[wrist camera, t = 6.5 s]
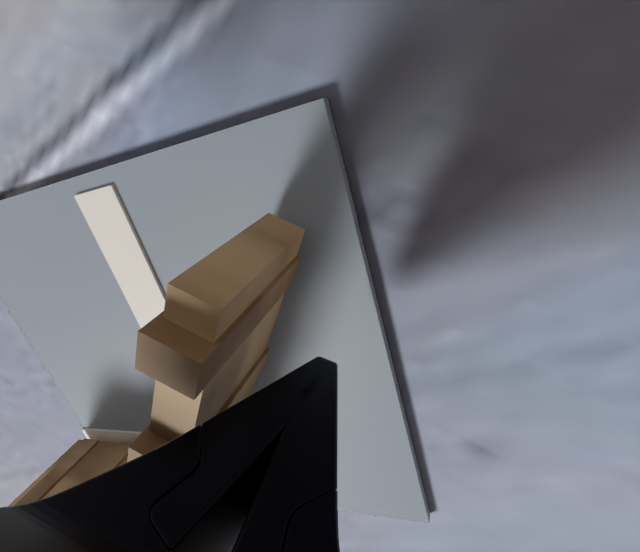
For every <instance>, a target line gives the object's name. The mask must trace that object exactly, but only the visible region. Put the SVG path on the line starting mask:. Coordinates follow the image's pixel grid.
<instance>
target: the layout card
mask: <svg viewBox="0 0 640 552" xmlns="http://www.w3.org/2000/svg"><path fill="white" fill-rule="evenodd" d="M267 213H270V214H272V215H275V216H277V217H279V218H281V219H283V220H286V221H288V222H290V223H292V224H294V225H297V226H299V227H301V228H303V229H305V232H304V235H303V238H302V241H301V244H300V247H299V250H298V254H297V256H300V260H299V263H298V266H297V269H296V272H295V275H294V278H293V281H292V284H291V286H290V287H289V288H288V289H287V291H286V292H285V293H284V296H283V299H282V302H281V306H280V309H279V312H278V315H277V318H276V321H275V324H274V327H273V330H272V333H271V336H270V339H269V342H268V345H267V348H268V349H270V350H269V353H268V356H267V359H266V362H265V365H264V368H263V371H262V372H261V373H260V375H259V376H258V378H257V379H256V382H255V385H254V388H253V391H252V394H254V393H255V392H257V391H259V390H261V389H262V388H264V387H266V386H267V385H269V384H271V383H273V382H274V381H276V380H278V379H280V378H281V377H283V376H285V375H286V374H288V373H290V372H292V371H293V370H295V369H297V368H299V367H300V366H302V365H304V364H305V363H307V362H309V361H311V360H312V359H314V358H316V357H319V356H320V357H323V358H326V359H328V360H331V361H333V362H336V363H337V365H338V441H337V492H338V510H340V511H347V512H354V513H361V514H368V515H375V516H382V517H390V518H397V519H404V520H411V521H418V522H425V523H429V521H430V512H429V508H428V504H427V500H426V496H425V492H424V488H423V484H422V480H421V476H420V472H419V468H418V464H417V459H416V455H415V451H414V447H413V443H412V439H411V435H410V431H409V427H408V423H407V419H406V415H405V411H404V407H403V402H402V398H401V394H400V390H399V386H398V382H397V378H396V374H395V370H394V366H393V362H392V358H391V354H390V350H389V345H388V341H387V337H386V333H385V329H384V325H383V321H382V317H381V313H380V309H379V305H378V301H377V297H376V293H375V289H374V284H373V280H372V276H371V272H370V268H369V264H368V260H367V256H366V252H365V248H364V244H363V240H362V236H361V232H360V227H359V223H358V219H357V215H356V211H355V207H354V203H353V199H352V195H351V191H350V187H349V183H348V179H347V175H346V170H345V166H344V162H343V158H342V154H341V150H340V146H339V142H338V138H337V134H336V130H335V126H334V122H333V118H332V113H331V109H330V105H329V101H328V97H325V98H321V99H318V100H315V101H312V102H309V103H306V104H302V105H299V106H296V107H293V108H290V109H287V110H283V111H280V112H277V113H274V114H271V115H268V116H265V117H261V118H258V119H255V120H252V121H249V122H246V123H243V124H239V125H236V126H233V127H230V128H227V129H224V130H220V131H217V132H214V133H211V134H208V135H205V136H202V137H198V138H195V139H192V140H189V141H186V142H183V143H179V144H176V145H173V146H170V147H167V148H164V149H161V150H157V151H154V152H151V153H148V154H145V155H142V156H139V157H135V158H132V159H129V160H126V161H123V162H120V163H116V164H113V165H110V166H107V167H104V168H101V169H98V170H94V171H91V172H88V173H85V174H82V175H79V176H76V177H72V178H69V179H66V180H63V181H60V182H57V183H53V184H50V185H47V186H44V187H41V188H38V189H35V190H31V191H28V192H25V193H22V194H19V195H16V196H13V197H9V198H6V199H3V200H0V298H1V300H2V301H3V303H4V305H5V306H6V308H7V309H8V311H9V312H10V314H11V315H12V317H13V319H14V320H15V322H16V323H17V325H18V326H19V328H20V330H21V331H22V333H23V334H24V336H25V337H26V339H27V341H28V342H29V344H30V345H31V347H32V348H33V350H34V352H35V353H36V355H37V356H38V358H39V359H40V361H41V363H42V364H43V366H44V367H45V369H46V370H47V372H48V374H49V375H50V377H51V378H52V380H53V381H54V383H55V385H56V386H57V388H58V389H59V391H60V392H61V394H62V396H63V397H64V399H65V400H66V402H67V403H68V405H69V407H70V408H71V410H72V411H73V413H74V414H75V416H76V418H77V419H78V421H79V422H80V424H81V425H82V427H83V429H81V430H82V431H83V433H84V435H85V436H86V438H87V439H96V440H99V441H100V442H112V443H120V442H131V443H133V442H134V441H135V439H136V438H137V437H138V436H139V435H140V434H141V433H142V432H143V431H144V430H145V428H146V427H147V426H148V425H149V424H150V420H151V412H152V404H153V396H154V388H155V379H153V378H152V377H150V376H148V375H146V374H144V373H142V372H140V371H138V370H137V369H135V359H136V347H137V334H138V330H140V329H141V328H142V327H144V326H145V325H146V324H147V323H149V322H150V321H151V320H153V319H154V318H155V317H156V316H158V315H159V314H160V313H162V312H163V311H164V307H165V299H166V291H167V283H169V282H170V281H171V280H173V279H174V278H176V277H177V276H179V275H180V274H181V273H183V272H184V271H186V270H187V269H189V268H190V267H191V266H193V265H194V264H196V263H197V262H199V261H200V260H201V259H203V258H204V257H206V256H207V255H209V254H210V253H212V252H213V251H214V250H216V249H217V248H219V247H220V246H222V245H223V244H224V243H226V242H227V241H229V240H230V239H232V238H233V237H234V236H236V235H237V234H239V233H240V232H242V231H243V230H244V229H246V228H247V227H249V226H250V225H252V224H253V223H255V222H256V221H257V220H259V219H260V218H262V217H263V216H265V215H266V214H267ZM252 394H251V395H252Z"/></svg>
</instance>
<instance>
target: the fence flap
mask: <svg viewBox="0 0 640 552" xmlns="http://www.w3.org/2000/svg"><path fill="white" fill-rule="evenodd" d="M304 232H305V229H303V228H301V227H299V226H297V225H294V224H292V223H290V222H288V221H286V220H283V219H281V218H279V217H277V216H275V215H272V214H270V213H267V214H266V215H265V216H263V217H262V218H260V219H259V220H257V221H256V222H255V223H253V224H252V225H250V226H249V227H247V228H246V229H244V230H243V231H242V232H240V233H239V234H237V235H236V236H234V237H233V238H232V239H230V240H229V241H227V242H226V243H224V244H223V245H222V246H220V247H219V248H217V249H216V250H214V251H213V252H212V253H210V254H209V255H207V256H206V257H204V258H203V259H201V260H200V261H199V262H197V263H196V264H194V265H193V266H191V267H190V268H189V269H187V270H186V271H184V272H183V273H181V274H180V275H179V276H177V277H176V278H174V279H173V280H171V281H170V282H169V283H167V291H166V299H165V307H164V311H163V312H162V313H160V314H159V315H158V316H156V317H155V318H154V319H153V320H151V321H150V322H149V323H147V324H146V325H145V326H144V327H142V328H141V329H140V330H138V334H137V347H136V359H135V369H137V370H138V371H140V372H142V373H144V374H146V375H148V376H150V377H152V378H153V379H155V388H154V396H153V404H152V412H151V420H150V424H149V425H148V426H147V427H146V428H145V430H144V431H143V432H142V433H141V434H140V435H139V436H138V437H137V438H136V439H135V441H134V442H133V443H132V444H131V445H130V446H129V447H128V459H127V462H129V461H131V460H133V459H135V458H137V457H140V456H142V455H144V454H146V453H148V452H150V451H152V450H154V449H156V448H158V447H160V446H162V445H164V444H166V443H168V442H170V441H171V440H173V439H175V438H177V437H179V436H181V435H182V434H184V433H186V432H188V431H189V430H191V429H193V428H195V427H196V426H198V425H201V426H202V423H204V422H205V421H207V420H209V419H210V418H212V417H214V416H216V415H217V414H219V413H221V412H223V411H224V410H226V409H228V408H229V407H231V406H233V405H235V404H236V403H238V402H240V401H242V400H243V399H245V398H247V397H248V396H250V395H251V394H252V391H253V388H254V385H255V382H256V379H257V378H258V376H259V375H260V373H261V372H262V371H263V368H264V365H265V362H266V359H267V356H268V353H269V350H270V349H268V348H267V345H268V342H269V339H270V336H271V333H272V330H273V327H274V324H275V321H276V318H277V315H278V312H279V309H280V306H281V302H282V299H283V296H284V293H285V292H286V291H287V289H288V288H289V287H290V286H291V284H292V281H293V278H294V275H295V272H296V269H297V266H298V263H299V260H300V256H297V254H298V250H299V247H300V244H301V241H302V238H303V235H304Z"/></svg>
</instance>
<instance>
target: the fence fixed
mask: <svg viewBox="0 0 640 552" xmlns="http://www.w3.org/2000/svg"><path fill="white" fill-rule="evenodd" d="M131 444H132V443H131V442H120V443H112V442H100V441H99V440H96V439H84V440H78V441H77V442H76V443H75V444H74V445H73V446H72V447H71V448H70V449H69V450H67V451H66V452H65V453H64V454H63V455H62V456H61V457H60V458H59V459H58V460H57V461H56V462H55V463H54V464H53V465H51V466H50V467H49V468H48V469H47V470H46V471H45V472H44V473H43V474H42V475H41V476H40V477H39V478H38V479H37V480H36V481H34V482H33V483H32V484H31V485H30V486H29V487H28V488H27V489H26V490H25V491H24V492H23V493H22V494H21V495H20V496H18V497H17V498H16V499H15V500H14V501H13V502H12V503H11V504H10V505H9V506H8V507H11V506H18V505H22V504H27V503H31V502H34V501H38V500H41V499H44V498H47V497H50V496H53V495H55V494H58V493H60V492H62V491H65V490H67V489H69V488H71V487H74V486H76V485H78V484H80V483H82V482H85V481H87V480H89V479H91V478H94V477H96V476H98V475H100V474H102V473H105V472H107V471H109V470H111V469H113V468H116V467H118V466H120V465H122V464H124V463H127V459H128V447H129V446H130V445H131Z"/></svg>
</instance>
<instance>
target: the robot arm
mask: <svg viewBox="0 0 640 552" xmlns="http://www.w3.org/2000/svg"><path fill="white" fill-rule="evenodd" d="M337 441H338V365H337V363H336V362H333V361H331V360H328V359H326V358H323V357H320V356H319V357H316V358H314V359H312V360H311V361H309V362H307V363H305V364H304V365H302V366H300V367H299V368H297V369H295V370H293V371H292V372H290V373H288V374H286V375H285V376H283V377H281V378H280V379H278V380H276V381H274V382H273V383H271V384H269V385H267V386H266V387H264V388H262V389H261V390H259V391H257V392H255V393H254V394H252V395H250V396H248V397H247V398H245V399H243V400H242V401H240V402H238V403H236V404H235V405H233V406H231V407H229V408H228V409H226V410H224V411H223V412H221V413H219V414H217V415H216V416H214V417H212V418H210V419H209V420H207V421H205V422H204V423H202V426H201V425H198V426H196V427H195V428H193V429H191V430H189V431H188V432H186V433H184V434H182V435H181V436H179V437H177V438H175V439H173V440H171V441H170V442H168V443H166V444H164V445H162V446H160V447H158V448H156V449H154V450H152V451H150V452H148V453H146V454H144V455H142V456H140V457H137V458H135V459H133V460H131V461H129V462H127V463H124V464H122V465H120V466H118V467H116V468H113V469H111V470H109V471H107V472H105V473H102V474H100V475H98V476H96V477H94V478H91V479H89V480H87V481H85V482H82V483H80V484H78V485H76V486H74V487H71V488H69V489H67V490H65V491H62V492H60V493H58V494H55V495H53V496H50V497H47V498H44V499H41V500H38V501H34V502H31V503H27V504H22V505H18V506H11V507H2V508H0V552H340V549H339V538H338V492H337Z"/></svg>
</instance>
